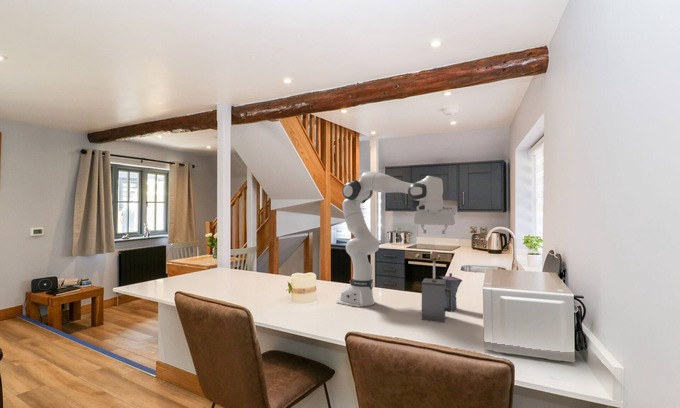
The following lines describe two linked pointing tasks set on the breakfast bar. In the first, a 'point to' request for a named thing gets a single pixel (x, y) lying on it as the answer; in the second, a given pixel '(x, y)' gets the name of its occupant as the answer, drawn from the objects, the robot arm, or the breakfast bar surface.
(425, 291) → the tall grey box
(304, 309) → the breakfast bar surface
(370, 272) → the robot arm
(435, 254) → the plunger
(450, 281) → the moka pot
